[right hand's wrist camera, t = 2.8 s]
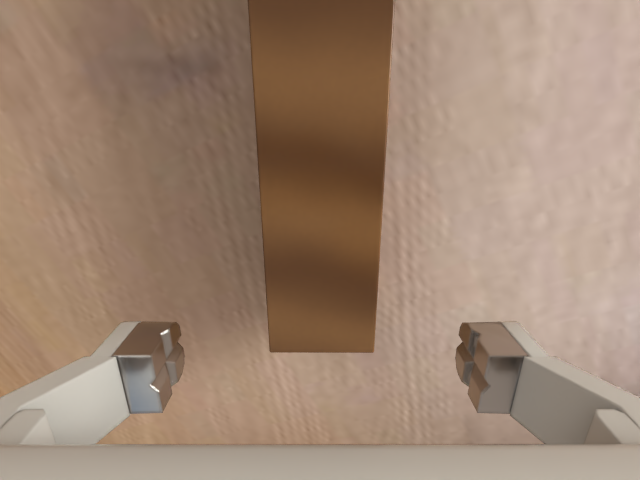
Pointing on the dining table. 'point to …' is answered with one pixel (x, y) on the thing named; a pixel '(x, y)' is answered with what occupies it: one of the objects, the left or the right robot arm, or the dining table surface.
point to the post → (321, 165)
